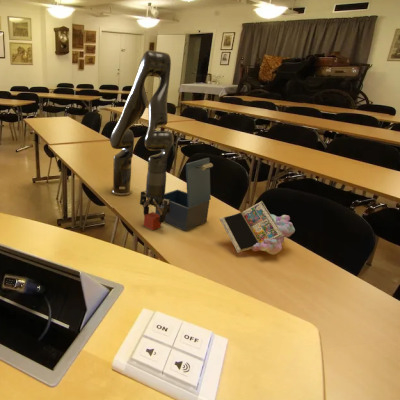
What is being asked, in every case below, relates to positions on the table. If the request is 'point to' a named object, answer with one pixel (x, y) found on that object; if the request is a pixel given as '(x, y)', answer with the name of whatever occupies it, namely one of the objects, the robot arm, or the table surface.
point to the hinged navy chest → (184, 211)
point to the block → (152, 221)
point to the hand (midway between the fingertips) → (153, 218)
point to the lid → (198, 182)
